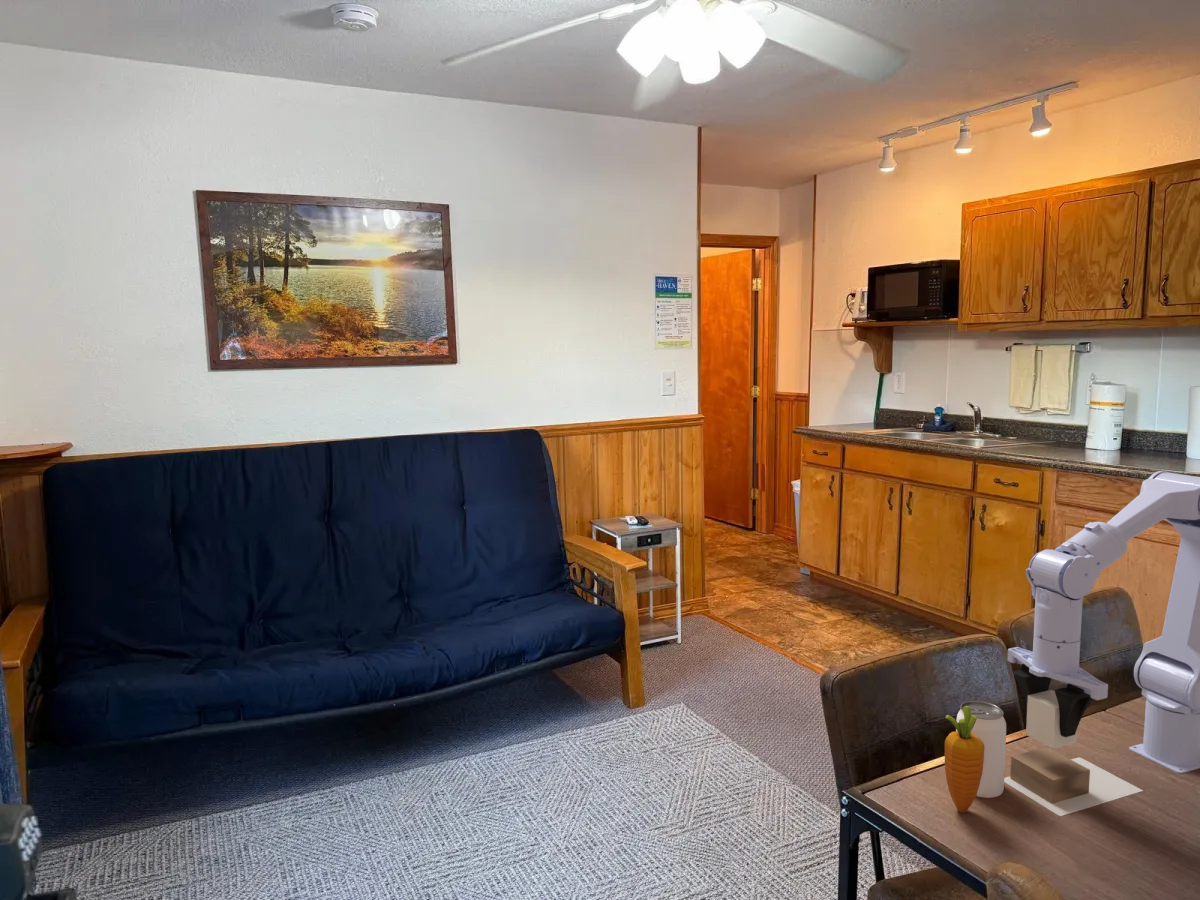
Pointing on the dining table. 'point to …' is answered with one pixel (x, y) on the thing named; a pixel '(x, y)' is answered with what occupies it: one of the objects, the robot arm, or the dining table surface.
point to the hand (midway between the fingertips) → (1052, 726)
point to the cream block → (1046, 720)
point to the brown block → (1050, 775)
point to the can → (989, 745)
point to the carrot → (963, 761)
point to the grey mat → (1100, 791)
